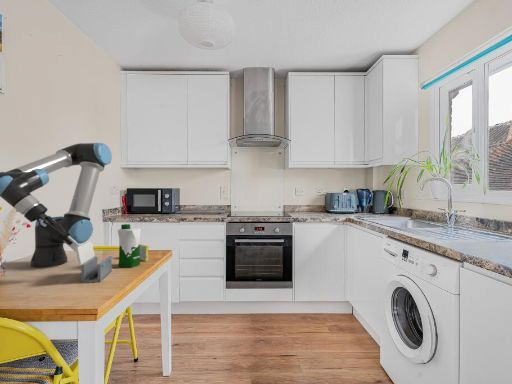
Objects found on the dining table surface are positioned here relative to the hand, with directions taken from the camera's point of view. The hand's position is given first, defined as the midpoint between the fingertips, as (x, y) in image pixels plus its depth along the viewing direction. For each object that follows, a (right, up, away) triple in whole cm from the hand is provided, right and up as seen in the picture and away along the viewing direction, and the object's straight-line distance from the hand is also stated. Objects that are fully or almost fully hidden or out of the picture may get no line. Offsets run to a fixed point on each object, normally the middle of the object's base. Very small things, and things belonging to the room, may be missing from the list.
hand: (78, 249), depth 126 cm
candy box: (+11, -12, +35) cm, 39 cm away
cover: (+3, -1, +1) cm, 3 cm away
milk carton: (+13, -12, +21) cm, 27 cm away
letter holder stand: (+7, -12, +2) cm, 14 cm away
